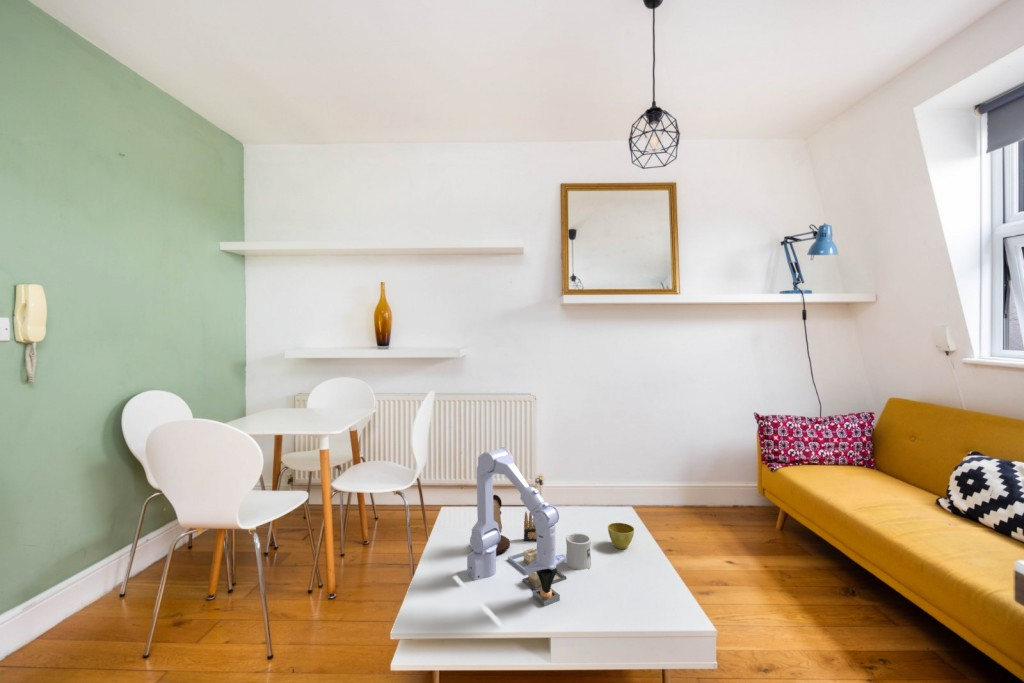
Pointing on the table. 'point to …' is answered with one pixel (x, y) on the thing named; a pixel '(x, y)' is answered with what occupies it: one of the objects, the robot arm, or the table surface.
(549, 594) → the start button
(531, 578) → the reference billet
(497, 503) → the scroll
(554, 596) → the button housing
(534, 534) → the ammunition clip
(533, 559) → the tan cardboard block
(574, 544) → the mug
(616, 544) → the flower pot
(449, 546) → the table surface
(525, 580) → the plate
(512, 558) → the light blue square tray
